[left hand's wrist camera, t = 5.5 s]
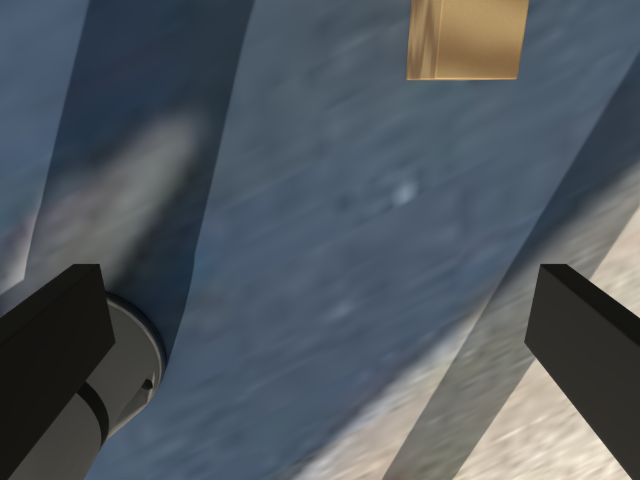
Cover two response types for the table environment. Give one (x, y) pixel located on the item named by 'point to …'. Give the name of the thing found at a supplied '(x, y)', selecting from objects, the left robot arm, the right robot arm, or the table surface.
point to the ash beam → (465, 39)
